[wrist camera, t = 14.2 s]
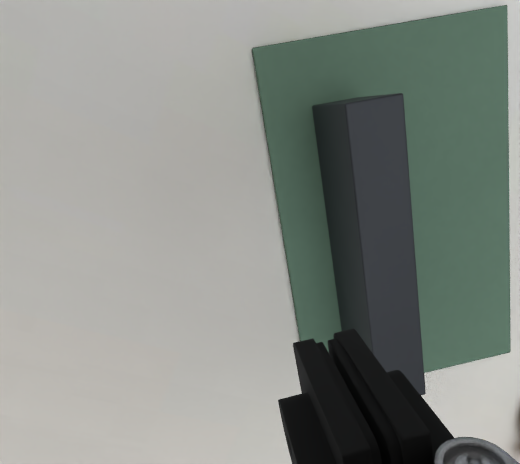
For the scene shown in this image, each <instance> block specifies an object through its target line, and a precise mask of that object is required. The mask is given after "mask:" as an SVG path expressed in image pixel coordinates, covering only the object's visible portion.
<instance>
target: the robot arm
mask: <svg viewBox="0 0 520 464" xmlns="http://www.w3.org/2000/svg"><path fill="white" fill-rule="evenodd" d="M333 338H334V339H331V340H328V350H329V353H328V351H327V349H326V347H325V345H324V344H323V342H319V343H316V342H315V340H314V339H313V338H312V339H308V340H304V341H300V342H296V343H293V347H294V353H295V358H296V364H297V369H298V375H299V380H300V386H301V391H302V394H299V395H295V396H291V397H288V398H284V399H280V400H278V402H279V408H280V413H281V418H282V422H283V427H284V432H285V436H286V441H287V445H288V449H289V453H290V457H291V460H292V464H519V463H518V462H517V461H516V460H515V459H514V458H512V457H511V456H510V455H509V454H508V453H507V452H505V451H504V450H502V449H501V448H500V447H498V446H497V445H495V444H493V443H490V442H488V441H486V440H483V439H478V438H473V437H458V438H454V437H453V436H452V434H451V433H450V432H449V431H448V429H447V428H446V427H445V426H444V424H443V423H442V422H441V421H440V419H439V418H438V417H437V416H436V414H435V413H434V412H433V410H432V409H431V408H430V407H429V405H428V404H427V403H426V402H425V400H424V399H423V398H422V397H421V395H420V394H419V393H418V392H417V390H416V389H415V388H414V387H413V385H412V384H411V383H410V381H409V380H408V379H407V378H406V376H405V375H404V374H403V373H402V372H401V371H400V370H394V371H390V372H386V371H385V369H384V368H383V367H382V365H381V364H380V363H379V361H378V360H377V359H376V357H375V356H374V354H373V353H372V352H371V350H370V349H369V348H368V346H367V345H366V344H365V342H364V341H363V339H362V338H361V337H360V335H359V334H358V333H357V331H356V330H355V329H349V330H345V331H341V332H337V333H334V334H333Z"/></svg>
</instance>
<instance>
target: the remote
mask: <svg viewBox="0 0 520 464" xmlns="http://www.w3.org/2000/svg"><path fill="white" fill-rule="evenodd" d="M312 110H313V118H314V125H315V133H316V140H317V148H318V156H319V163H320V171H321V178H322V186H323V193H324V201H325V208H326V216H327V223H328V231H329V238H330V246H331V254H332V261H333V269H334V276H335V284H336V291H337V299H338V306H339V314H340V321H341V329H342V331H345V330H349V329H355V330H356V331H357V333H358V334H359V335H360V337H361V338H362V339H363V341H364V342H365V344H366V345H367V346H368V348H369V349H370V350H371V352H372V353H373V354H374V356H375V357H376V359H377V360H378V361H379V363H380V364H381V365H382V367H383V368H384V369H385V371H386V372H390V371H394V370H400V371H401V372H402V373H403V374H404V375H405V376H406V378H407V379H408V380H409V381H410V383H411V384H412V385H413V387H414V388H415V389H416V390H417V392H418V393H419V394H420V395H424V394H425V380H424V366H423V353H422V339H421V326H420V312H419V299H418V286H417V272H416V259H415V245H414V232H413V218H412V205H411V192H410V178H409V165H408V151H407V138H406V124H405V111H404V98H403V93H396V94H387V95H377V96H367V97H357V98H351V99H346V100H340V101H335V102H329V103H324V104H318V105H313V106H312Z"/></svg>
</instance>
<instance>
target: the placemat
mask: <svg viewBox="0 0 520 464" xmlns="http://www.w3.org/2000/svg"><path fill="white" fill-rule="evenodd" d="M252 53H253V59H254V65H255V71H256V77H257V84H258V90H259V96H260V102H261V108H262V114H263V120H264V126H265V132H266V138H267V144H268V150H269V156H270V162H271V168H272V174H273V180H274V187H275V193H276V199H277V205H278V211H279V217H280V223H281V229H282V235H283V241H284V247H285V253H286V259H287V265H288V271H289V277H290V283H291V289H292V296H293V302H294V308H295V314H296V320H297V326H298V332H299V338H300V341H304V340H308V339H312V338H313V339H314V340H315V342H316V343H319V342H323V344H324V345H325V347H326V349H327V351H328V353H329V350H328V340H331V339H334V338H333V334H334V333H337V332H341V331H342V329H341V321H340V314H339V306H338V299H337V291H336V284H335V276H334V269H333V261H332V254H331V246H330V238H329V231H328V223H327V216H326V208H325V201H324V193H323V186H322V178H321V171H320V163H319V156H318V148H317V140H316V133H315V125H314V118H313V110H312V106H313V105H318V104H324V103H329V102H335V101H340V100H346V99H351V98H357V97H367V96H377V95H387V94H396V93H403V98H404V111H405V124H406V138H407V151H408V165H409V178H410V192H411V205H412V218H413V232H414V245H415V259H416V272H417V286H418V299H419V312H420V326H421V339H422V353H423V366H424V373H425V372H430V371H434V370H438V369H442V368H446V367H450V366H455V365H459V364H463V363H467V362H471V361H475V360H480V359H484V358H488V357H492V356H496V355H501V354H505V353H509V352H510V251H509V143H508V34H507V5H504V6H498V7H492V8H486V9H480V10H474V11H468V12H462V13H457V14H451V15H445V16H439V17H433V18H427V19H421V20H415V21H409V22H404V23H398V24H392V25H386V26H380V27H374V28H368V29H362V30H356V31H350V32H345V33H339V34H333V35H327V36H321V37H315V38H309V39H303V40H297V41H291V42H286V43H280V44H274V45H268V46H262V47H256V48H253V49H252Z"/></svg>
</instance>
